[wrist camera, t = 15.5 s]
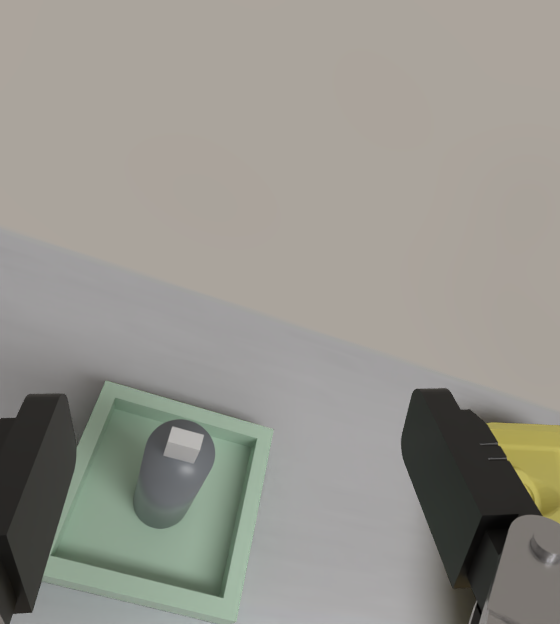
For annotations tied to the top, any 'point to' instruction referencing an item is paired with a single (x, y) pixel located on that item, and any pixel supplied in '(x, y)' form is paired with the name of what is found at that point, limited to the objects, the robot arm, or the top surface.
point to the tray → (150, 541)
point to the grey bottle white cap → (172, 472)
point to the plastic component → (534, 461)
